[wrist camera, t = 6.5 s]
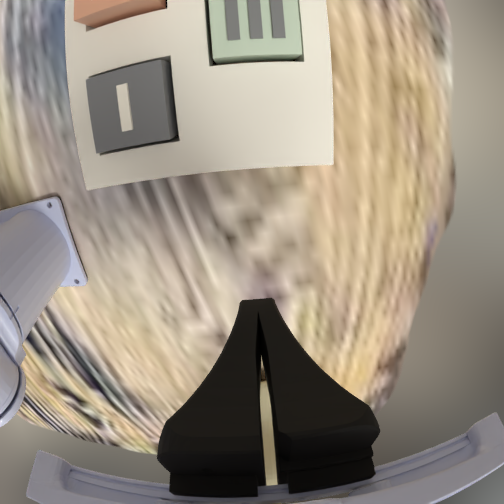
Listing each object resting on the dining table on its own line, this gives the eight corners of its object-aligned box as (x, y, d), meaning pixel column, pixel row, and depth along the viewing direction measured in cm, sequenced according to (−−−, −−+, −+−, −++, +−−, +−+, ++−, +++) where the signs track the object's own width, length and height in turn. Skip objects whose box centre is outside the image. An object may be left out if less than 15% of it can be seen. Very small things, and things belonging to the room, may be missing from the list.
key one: (116, 143, 17) (94, 154, 14) (107, 80, 14) (83, 79, 12) (180, 131, 17) (168, 139, 14) (173, 64, 14) (160, 58, 12)
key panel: (102, 178, 18) (86, 190, 16) (85, -33, 10) (68, -43, 7) (322, 155, 18) (333, 164, 16) (304, -67, 10) (312, -83, 7)
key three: (217, 64, 15) (212, 58, 12) (212, 1, 12) (207, -16, 10) (292, 60, 15) (303, 54, 12) (286, -2, 12) (296, -19, 10)
